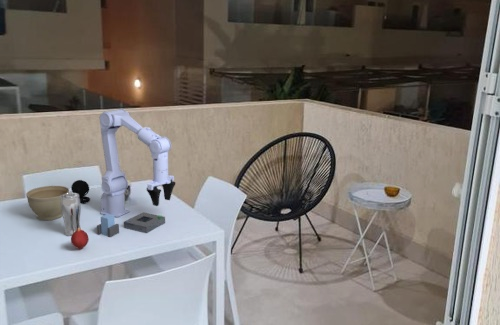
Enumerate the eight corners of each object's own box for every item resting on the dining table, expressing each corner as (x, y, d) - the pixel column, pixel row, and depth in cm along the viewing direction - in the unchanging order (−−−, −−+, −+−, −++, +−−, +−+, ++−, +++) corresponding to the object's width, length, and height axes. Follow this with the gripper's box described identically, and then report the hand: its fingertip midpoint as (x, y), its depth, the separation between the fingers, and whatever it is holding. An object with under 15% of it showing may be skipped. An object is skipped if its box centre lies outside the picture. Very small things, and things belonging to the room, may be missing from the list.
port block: (123, 227, 185) (123, 220, 184) (143, 218, 195) (143, 210, 195) (146, 233, 180) (146, 225, 179) (165, 222, 191) (165, 215, 190)
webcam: (92, 198, 218) (90, 177, 215) (87, 204, 210) (86, 182, 208) (75, 198, 217) (73, 177, 215) (70, 204, 210) (68, 182, 208)
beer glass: (86, 231, 181) (83, 193, 178) (74, 237, 175) (71, 199, 171) (71, 228, 184) (68, 191, 180) (59, 235, 177) (55, 197, 173)
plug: (101, 234, 179) (100, 216, 177) (108, 231, 182) (107, 214, 180) (108, 236, 177) (107, 218, 175) (115, 232, 180) (114, 215, 178)
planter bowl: (19, 220, 191) (16, 194, 188) (50, 207, 205) (47, 183, 203) (50, 226, 185) (48, 200, 182) (79, 213, 200) (77, 188, 197)
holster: (97, 234, 179) (96, 225, 178) (106, 229, 183) (106, 221, 182) (110, 237, 176) (109, 228, 175) (119, 232, 180) (118, 224, 179)
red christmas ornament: (74, 245, 169) (72, 224, 167) (91, 245, 169) (89, 224, 167) (69, 252, 163) (67, 231, 161) (86, 252, 163) (85, 230, 161)
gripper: (157, 175, 173) (158, 210, 177) (180, 166, 186) (180, 198, 189) (142, 172, 176) (143, 206, 180) (165, 163, 189) (166, 196, 192)
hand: (161, 202), depth 185 cm, fingers open, 7 cm apart
